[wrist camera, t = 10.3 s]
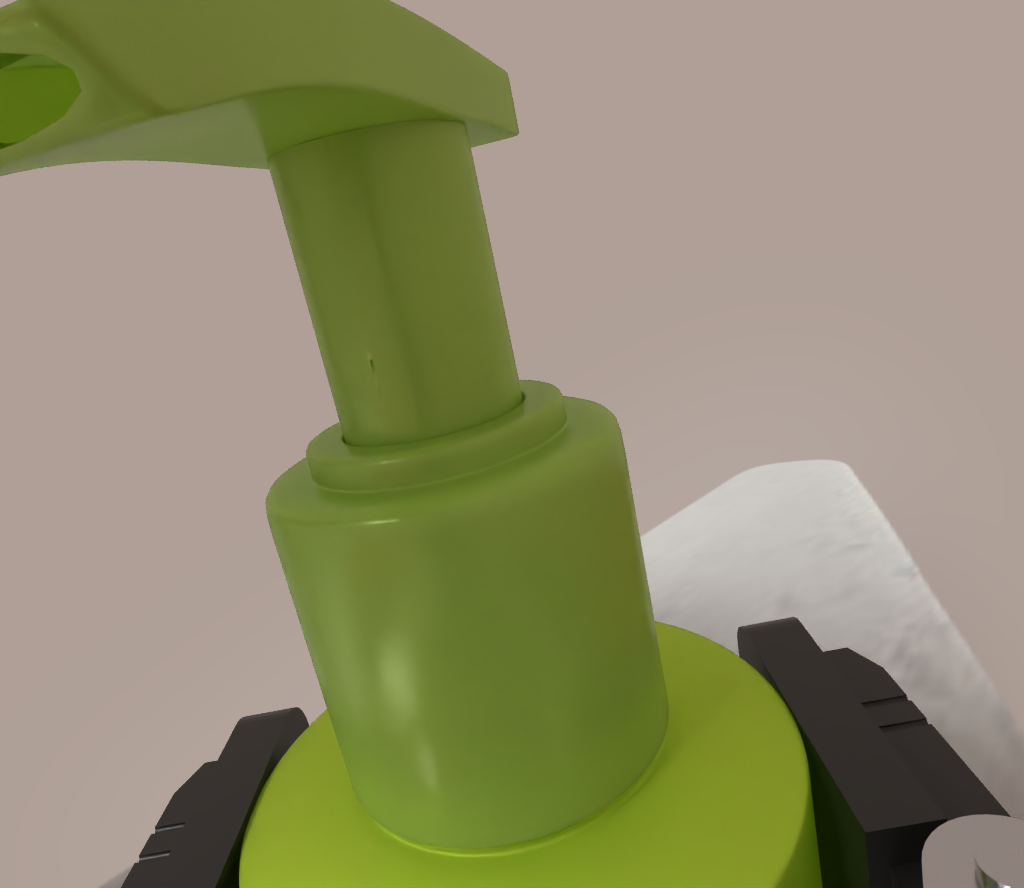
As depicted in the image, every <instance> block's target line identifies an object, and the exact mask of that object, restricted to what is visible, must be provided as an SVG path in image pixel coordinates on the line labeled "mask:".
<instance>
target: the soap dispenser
mask: <svg viewBox="0 0 1024 888" xmlns="http://www.w3.org/2000/svg"><path fill="white" fill-rule="evenodd" d="M518 134H519V130H518V124H517V119H516V114H515V108H514V103H513V98H512V93H511V87H510V82H509V78H508V74H507V72H506V71H505V70H503V69H502V68H500V67H499V66H497V65H496V64H494V63H493V62H492V61H490V60H489V59H487V58H486V57H484V56H482V55H481V54H480V53H478V52H477V51H475V50H474V49H472V48H470V47H469V46H468V45H466V44H465V43H463V42H462V41H460V40H458V39H457V38H455V37H454V36H452V35H451V34H449V33H447V32H446V31H444V30H442V29H441V28H439V27H437V26H436V25H434V24H433V23H431V22H429V21H427V20H425V19H424V18H422V17H420V16H418V15H417V14H415V13H413V12H411V11H409V10H407V9H406V8H404V7H401V6H400V5H397V4H395V3H393V2H391V1H389V0H18V1H15V2H13V3H11V4H9V5H6V6H4V7H1V8H0V176H3V175H8V174H12V173H17V172H22V171H27V170H32V169H37V168H43V167H50V166H56V165H64V164H73V163H81V162H96V161H117V160H118V161H120V160H148V161H171V162H186V163H199V164H210V165H222V166H233V167H246V168H259V169H270V173H271V176H272V180H273V184H274V187H275V191H276V194H277V198H278V201H279V205H280V209H281V212H282V216H283V220H284V223H285V227H286V230H287V234H288V237H289V241H290V245H291V248H292V251H293V255H294V259H295V263H296V266H297V270H298V273H299V276H300V280H301V284H302V287H303V291H304V295H305V299H306V302H307V306H308V309H309V313H310V316H311V320H312V323H313V327H314V330H315V334H316V338H317V342H318V345H319V349H320V352H321V356H322V359H323V363H324V367H325V370H326V374H327V377H328V381H329V384H330V388H331V392H332V395H333V399H334V403H335V406H336V410H337V413H338V417H339V420H340V422H339V423H337V424H335V425H333V426H331V427H329V428H328V429H326V430H324V431H323V432H322V433H320V434H319V435H318V436H316V437H315V438H314V439H313V440H312V441H311V442H310V443H309V445H308V447H307V450H306V458H304V459H303V460H301V461H299V462H298V463H297V464H295V465H294V466H292V467H291V468H290V469H288V470H287V471H286V472H285V473H283V474H282V475H281V476H280V477H279V478H278V479H277V480H276V481H275V482H274V484H273V485H272V487H271V488H270V491H269V493H268V495H267V498H266V510H267V518H268V522H269V525H270V529H271V532H272V536H273V539H274V542H275V546H276V549H277V552H278V555H279V558H280V561H281V564H282V568H283V571H284V574H285V577H286V580H287V583H288V586H289V590H290V593H291V596H292V599H293V602H294V605H295V608H296V612H297V615H298V618H299V621H300V624H301V627H302V630H303V634H304V637H305V640H306V643H307V646H308V649H309V652H310V656H311V659H312V662H313V665H314V668H315V671H316V674H317V678H318V681H319V684H320V687H321V690H322V693H323V696H324V700H325V703H326V706H327V710H326V711H325V712H324V713H322V714H321V715H320V716H319V717H318V718H317V719H316V720H315V721H314V722H313V723H312V724H311V725H310V726H309V727H308V728H307V729H306V730H305V731H304V732H303V733H302V734H301V735H300V736H299V737H298V739H297V740H296V741H295V742H294V743H293V744H292V746H291V747H290V748H289V749H288V751H287V752H286V753H285V754H284V756H283V757H282V758H281V760H280V761H279V763H278V764H277V765H276V767H275V768H274V770H273V771H272V773H271V775H270V776H269V778H268V780H267V781H266V783H265V785H264V787H263V789H262V791H261V793H260V795H259V797H258V800H257V802H256V804H255V807H254V809H253V812H252V814H251V817H250V819H249V822H248V825H247V828H246V831H245V834H244V839H243V843H242V848H241V855H240V865H239V888H823V886H822V877H821V869H820V860H819V851H818V843H817V834H816V825H815V817H814V808H813V799H812V791H811V782H810V773H809V766H808V760H807V755H806V751H805V747H804V743H803V740H802V737H801V734H800V731H799V729H798V726H797V724H796V722H795V720H794V718H793V716H792V714H791V712H790V710H789V709H788V707H787V705H786V704H785V702H784V701H783V699H782V698H781V696H780V695H779V694H778V693H777V691H776V690H775V689H774V688H773V686H772V685H771V684H770V683H769V682H768V681H767V680H766V679H765V678H764V677H763V676H762V675H761V674H760V673H759V672H758V671H757V670H756V669H755V668H753V667H752V666H751V665H750V664H748V663H747V662H746V661H744V660H743V659H742V658H740V657H739V656H737V655H736V654H734V653H733V652H731V651H730V650H728V649H726V648H725V647H723V646H721V645H719V644H717V643H715V642H713V641H711V640H709V639H707V638H705V637H703V636H700V635H698V634H695V633H693V632H690V631H687V630H684V629H682V628H678V627H675V626H672V625H668V624H664V623H660V622H656V621H654V616H653V610H652V604H651V599H650V593H649V587H648V581H647V575H646V570H645V564H644V558H643V552H642V546H641V541H640V535H639V530H638V523H637V518H636V512H635V506H634V500H633V494H632V488H631V483H630V477H629V471H628V465H627V459H626V453H625V448H624V444H623V439H622V434H621V430H620V427H619V424H618V422H617V419H616V417H615V416H614V414H613V413H611V412H610V411H609V410H608V409H607V408H605V407H604V406H602V405H601V404H598V403H596V402H593V401H589V400H585V399H580V398H574V397H566V396H562V394H561V392H560V390H559V389H558V388H556V387H555V386H554V385H552V384H549V383H545V382H540V381H532V380H519V378H518V374H517V369H516V364H515V359H514V354H513V349H512V345H511V340H510V335H509V330H508V325H507V321H506V316H505V311H504V307H503V301H502V296H501V292H500V287H499V282H498V277H497V272H496V267H495V263H494V258H493V253H492V249H491V243H490V238H489V234H488V229H487V224H486V219H485V214H484V210H483V205H482V200H481V195H480V191H479V186H478V181H477V176H476V171H475V166H474V162H473V157H472V152H471V147H475V146H479V145H483V144H487V143H491V142H495V141H499V140H502V139H506V138H510V137H514V136H517V135H518Z"/></svg>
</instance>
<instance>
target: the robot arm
mask: <svg viewBox="0 0 1024 888" xmlns="http://www.w3.org/2000/svg"><path fill="white" fill-rule="evenodd" d="M737 639H738V649H739V656H740V658H742V659H743V660H744V661H746V662H747V663H748V664H750V665H751V666H752V667H753V668H755V669H756V670H757V671H758V672H759V673H760V674H761V675H762V676H763V677H764V678H765V679H766V680H767V681H768V682H769V683H770V684H771V685H772V686H773V688H774V689H775V690H776V691H777V693H778V694H779V695H780V696H781V698H782V699H783V701H784V702H785V704H786V705H787V707H788V709H789V710H790V712H791V714H792V716H793V718H794V720H795V722H796V724H797V726H798V729H799V731H800V734H801V737H802V740H803V743H804V747H805V751H806V755H807V760H808V766H809V773H810V782H811V791H812V799H813V808H814V817H815V825H816V834H817V843H818V851H819V860H820V869H821V877H822V886H823V888H1024V820H1021V819H1017V818H1012V817H1011V816H1010V815H1009V814H1008V813H1007V812H1006V811H1005V809H1004V808H1003V807H1002V806H1001V805H1000V804H999V802H998V801H997V800H996V799H995V798H994V797H993V795H992V794H991V793H990V792H989V791H988V790H987V788H986V787H985V786H984V785H983V784H982V783H981V781H980V780H979V779H978V778H977V777H976V776H975V774H974V773H973V772H972V771H971V770H970V769H969V767H968V766H967V765H966V764H965V763H964V762H963V760H962V759H961V758H960V757H959V756H958V755H957V753H956V752H955V751H954V750H953V749H952V748H951V746H950V745H949V744H948V743H947V742H946V741H945V739H944V738H943V737H942V736H941V735H940V734H939V732H938V731H937V730H936V729H935V728H934V727H933V725H932V724H930V725H929V724H928V723H927V720H926V717H925V716H924V715H923V714H922V713H921V711H920V710H919V709H918V708H917V707H916V706H915V704H914V703H913V702H912V701H908V699H907V696H906V694H905V693H904V692H903V690H902V689H901V688H900V687H899V686H898V685H897V683H896V682H895V681H894V680H893V679H892V678H891V676H890V675H889V674H888V673H887V672H886V671H885V669H884V668H883V667H881V666H879V665H877V664H876V663H874V662H872V661H870V660H868V659H867V658H865V657H863V656H861V655H859V654H858V653H856V652H854V651H852V650H850V649H849V648H842V649H837V650H831V651H826V652H822V650H821V649H820V648H819V646H818V645H817V644H816V642H815V641H814V640H813V638H812V637H811V636H810V634H809V633H808V632H807V630H806V629H805V628H804V626H803V625H802V624H801V622H800V621H799V620H798V619H797V618H795V617H791V618H786V619H780V620H775V621H769V622H764V623H758V624H753V625H748V626H742V627H739V628H738V632H737ZM308 727H309V724H308V721H307V719H306V717H305V715H304V713H303V711H302V710H301V709H300V708H297V707H295V708H289V709H284V710H278V711H273V712H267V713H262V714H257V715H251V716H246V717H243V718H242V719H240V720H239V721H238V723H237V725H236V726H235V728H234V730H233V732H232V734H231V736H230V738H229V740H228V742H227V744H226V746H225V748H224V749H223V751H222V753H221V755H220V757H219V759H218V761H213V762H207V763H205V764H203V765H202V766H201V767H200V769H199V770H197V771H196V772H195V773H194V775H192V776H191V778H189V779H188V780H187V781H186V782H185V784H183V785H182V786H181V787H180V788H179V789H178V791H176V792H175V793H174V795H173V797H172V799H171V800H170V802H169V804H168V805H167V807H166V809H165V811H164V812H163V814H162V816H161V818H160V820H159V821H158V823H157V825H156V827H155V830H156V831H155V834H152V835H151V836H150V837H149V839H148V841H147V843H146V844H145V846H144V848H143V850H142V852H141V853H140V855H139V858H140V859H139V863H135V864H134V866H133V867H132V869H131V871H130V873H129V874H128V876H127V878H126V880H125V882H124V883H123V885H122V887H121V888H239V865H240V855H241V848H242V843H243V839H244V834H245V831H246V828H247V825H248V822H249V819H250V817H251V814H252V812H253V809H254V807H255V804H256V802H257V800H258V797H259V795H260V793H261V791H262V789H263V787H264V785H265V783H266V781H267V780H268V778H269V776H270V775H271V773H272V771H273V770H274V768H275V767H276V765H277V764H278V763H279V761H280V760H281V758H282V757H283V756H284V754H285V753H286V752H287V751H288V749H289V748H290V747H291V746H292V744H293V743H294V742H295V741H296V740H297V739H298V737H299V736H300V735H301V734H302V733H303V732H304V731H305V730H306V729H307V728H308Z"/></svg>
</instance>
